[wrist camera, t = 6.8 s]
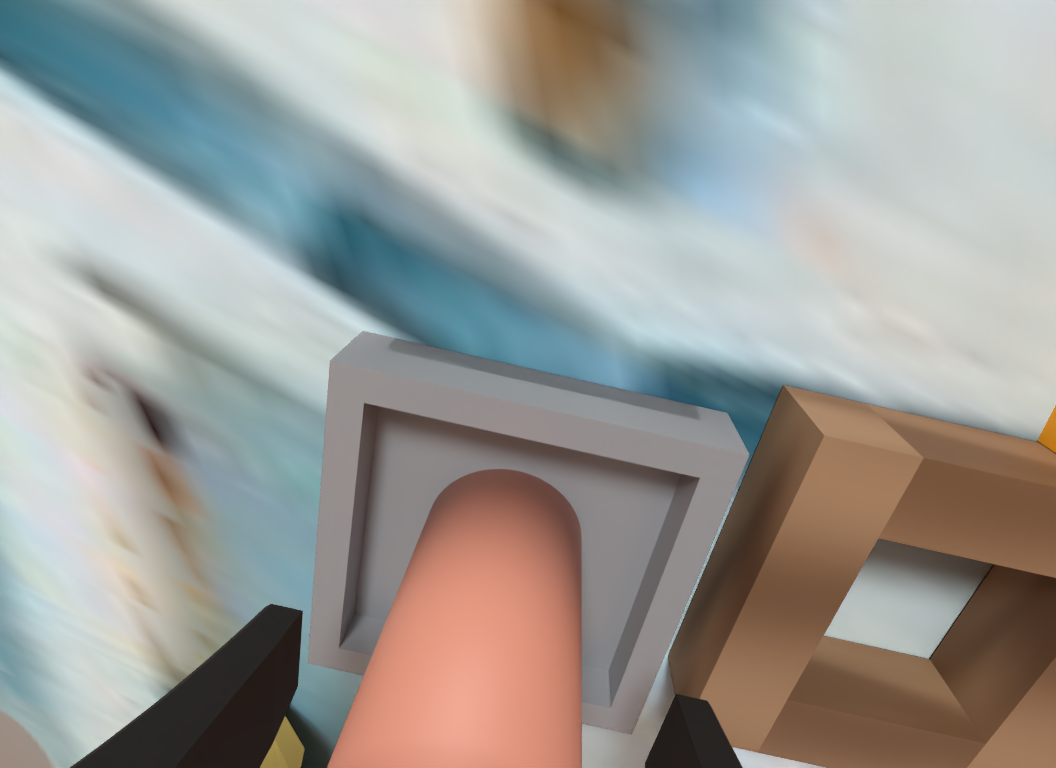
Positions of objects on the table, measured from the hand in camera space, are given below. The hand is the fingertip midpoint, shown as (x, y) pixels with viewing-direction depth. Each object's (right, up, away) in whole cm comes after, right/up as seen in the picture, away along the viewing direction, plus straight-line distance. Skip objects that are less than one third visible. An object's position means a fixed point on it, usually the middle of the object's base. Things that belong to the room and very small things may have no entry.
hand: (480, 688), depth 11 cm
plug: (0, +2, +4) cm, 4 cm away
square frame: (+10, +1, +4) cm, 11 cm away
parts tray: (0, +2, +5) cm, 5 cm away
